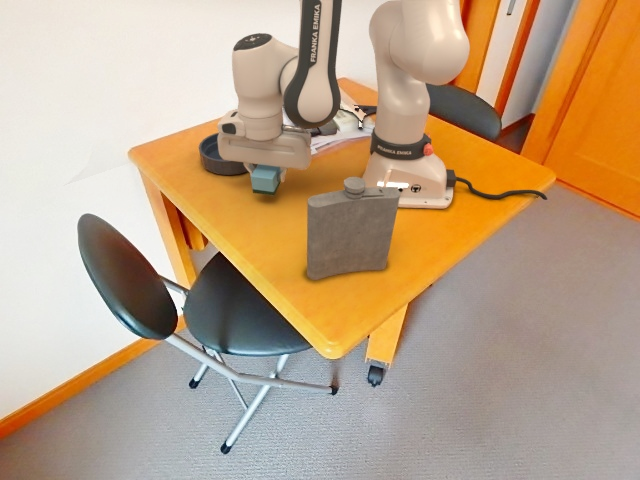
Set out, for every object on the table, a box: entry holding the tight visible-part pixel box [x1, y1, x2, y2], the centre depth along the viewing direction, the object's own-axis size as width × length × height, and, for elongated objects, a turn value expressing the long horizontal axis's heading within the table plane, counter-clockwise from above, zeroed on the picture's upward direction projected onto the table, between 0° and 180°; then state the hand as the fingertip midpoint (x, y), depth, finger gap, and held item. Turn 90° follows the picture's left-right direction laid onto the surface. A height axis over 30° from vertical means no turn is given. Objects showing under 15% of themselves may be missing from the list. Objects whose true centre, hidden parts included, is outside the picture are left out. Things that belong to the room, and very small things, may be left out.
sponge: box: [250, 164, 282, 197], centre depth 90 cm, size 8×5×4 cm, turn 167°
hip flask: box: [306, 176, 400, 281], centre depth 71 cm, size 16×4×20 cm, turn 103°
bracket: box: [353, 104, 377, 130], centre depth 124 cm, size 14×15×3 cm
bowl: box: [198, 131, 258, 176], centre depth 104 cm, size 16×16×4 cm
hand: (267, 179), depth 90 cm, fingers closed on sponge, 5 cm apart
